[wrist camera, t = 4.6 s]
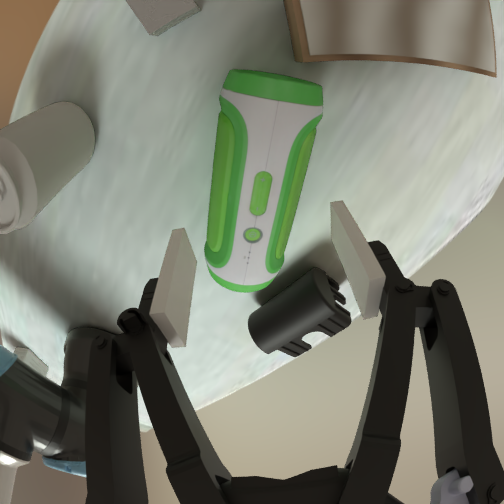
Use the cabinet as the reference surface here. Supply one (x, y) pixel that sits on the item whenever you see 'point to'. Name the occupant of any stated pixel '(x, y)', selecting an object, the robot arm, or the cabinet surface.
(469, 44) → the stand
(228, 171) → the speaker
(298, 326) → the end cap
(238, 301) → the cabinet surface
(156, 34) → the grey square block
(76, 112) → the can
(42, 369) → the skincare box
